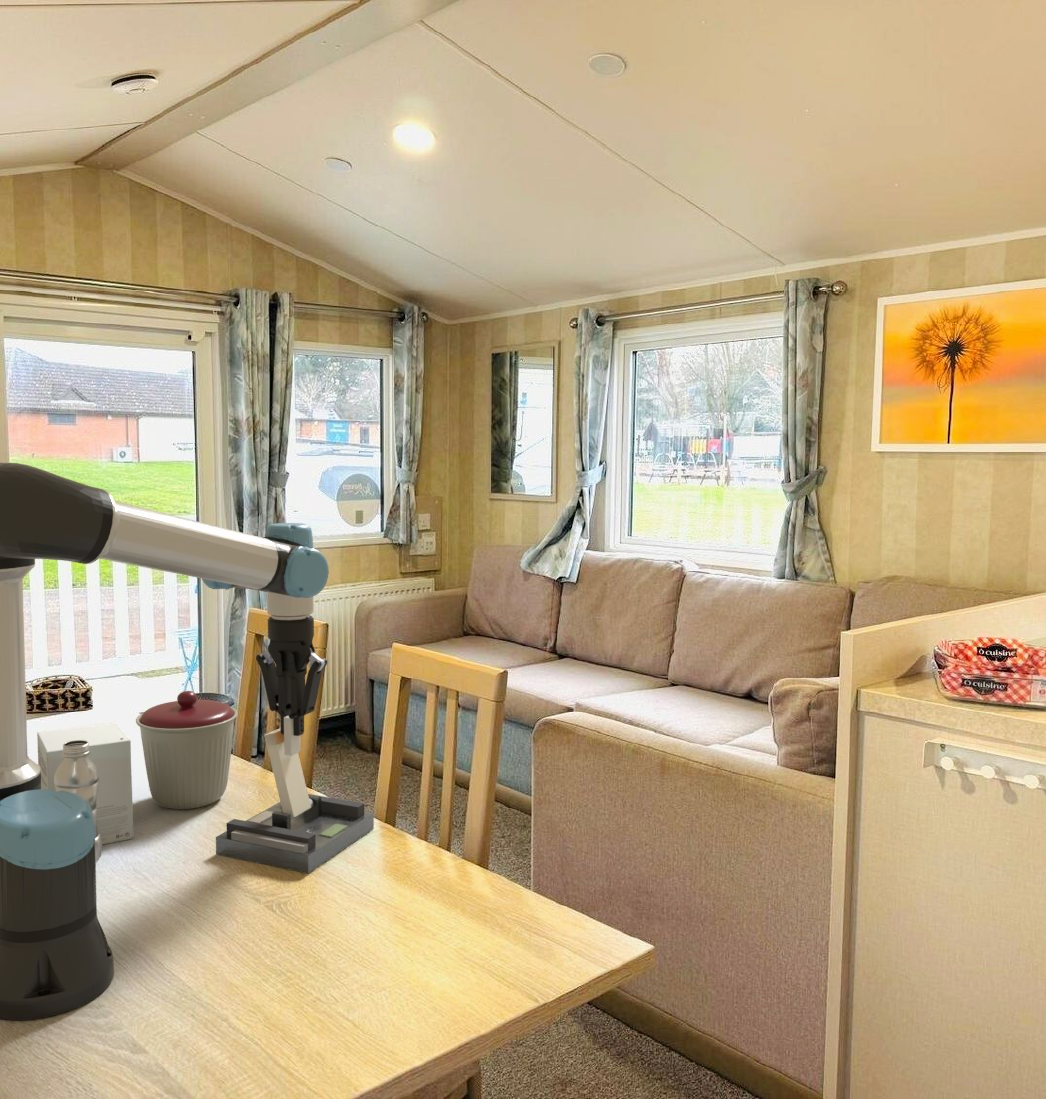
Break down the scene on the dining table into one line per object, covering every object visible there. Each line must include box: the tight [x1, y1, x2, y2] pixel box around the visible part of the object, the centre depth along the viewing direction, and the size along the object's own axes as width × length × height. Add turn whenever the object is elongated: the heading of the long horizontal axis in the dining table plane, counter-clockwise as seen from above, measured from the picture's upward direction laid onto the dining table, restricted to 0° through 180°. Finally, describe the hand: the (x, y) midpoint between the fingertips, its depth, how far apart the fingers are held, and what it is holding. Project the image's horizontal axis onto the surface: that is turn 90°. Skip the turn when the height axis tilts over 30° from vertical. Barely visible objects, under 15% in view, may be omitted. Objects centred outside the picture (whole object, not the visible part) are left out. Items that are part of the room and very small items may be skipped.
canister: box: [135, 690, 239, 810], centre depth 184 cm, size 18×18×21 cm
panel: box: [215, 793, 375, 875], centre depth 167 cm, size 20×18×6 cm
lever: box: [263, 727, 313, 819], centre depth 166 cm, size 7×2×15 cm, turn 158°
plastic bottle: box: [54, 740, 103, 863], centre depth 155 cm, size 6×7×20 cm
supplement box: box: [36, 721, 134, 845], centre depth 168 cm, size 13×13×18 cm
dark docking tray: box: [226, 793, 365, 854], centre depth 166 cm, size 18×16×2 cm
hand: (292, 753), depth 166 cm, fingers closed
